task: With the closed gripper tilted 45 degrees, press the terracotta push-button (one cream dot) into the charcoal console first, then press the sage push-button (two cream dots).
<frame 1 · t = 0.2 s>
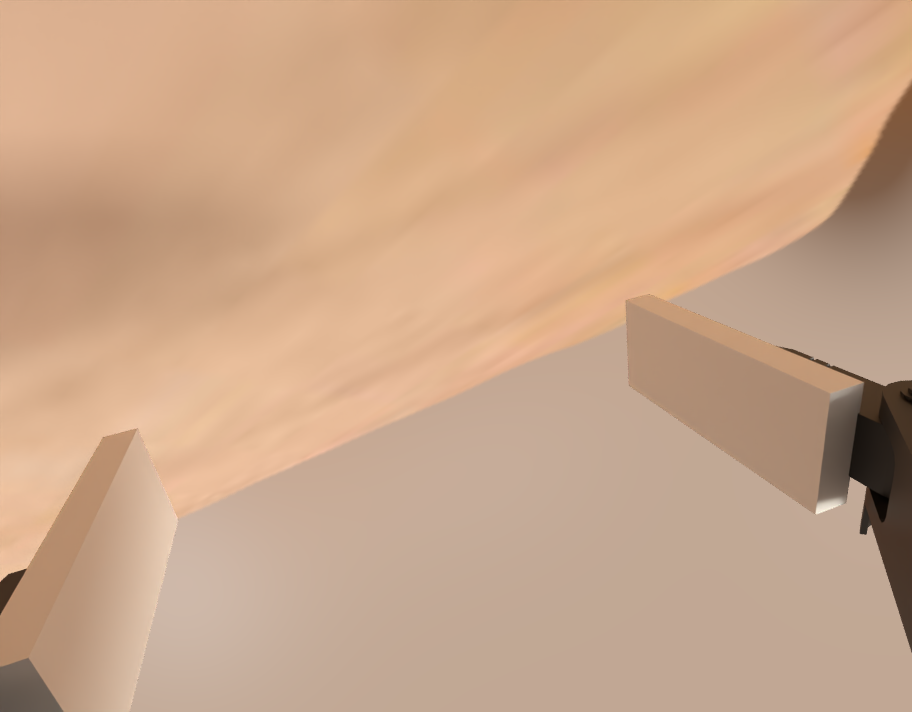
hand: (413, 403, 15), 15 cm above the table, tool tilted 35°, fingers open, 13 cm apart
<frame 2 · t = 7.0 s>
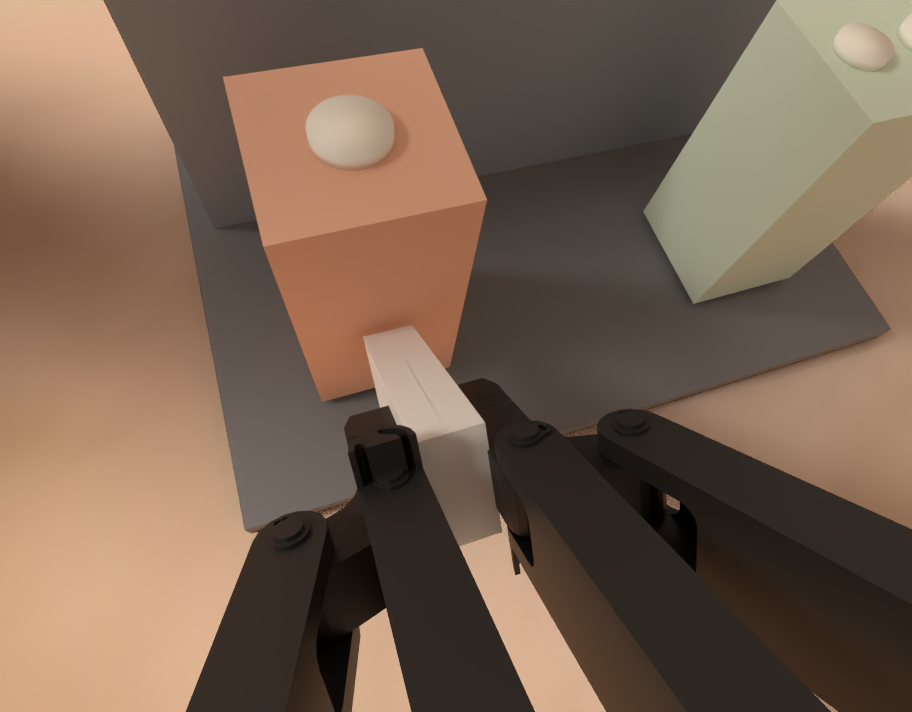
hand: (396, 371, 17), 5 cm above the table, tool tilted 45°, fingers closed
console: (474, 129, 28), on the table
button one: (362, 253, 18), point 6 cm above the table, slide at 0.1 cm, touching gripper
button two: (786, 163, 21), point 6 cm above the table, slide at 0.0 cm
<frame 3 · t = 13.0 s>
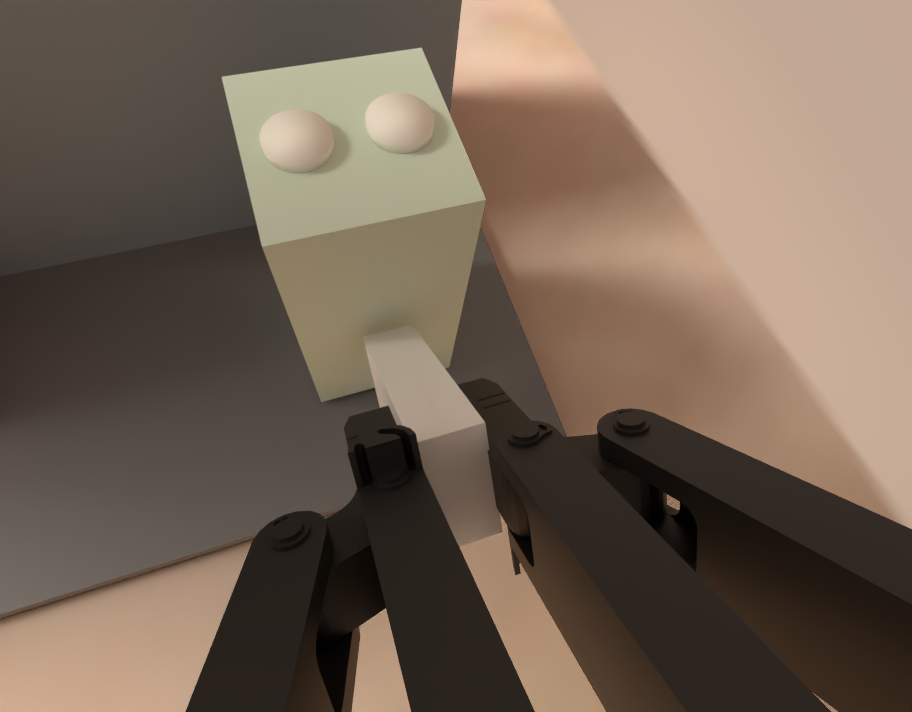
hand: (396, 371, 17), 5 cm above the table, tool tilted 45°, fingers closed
console: (137, 194, 25), on the table
button two: (362, 253, 18), point 6 cm above the table, slide at 0.4 cm, touching gripper
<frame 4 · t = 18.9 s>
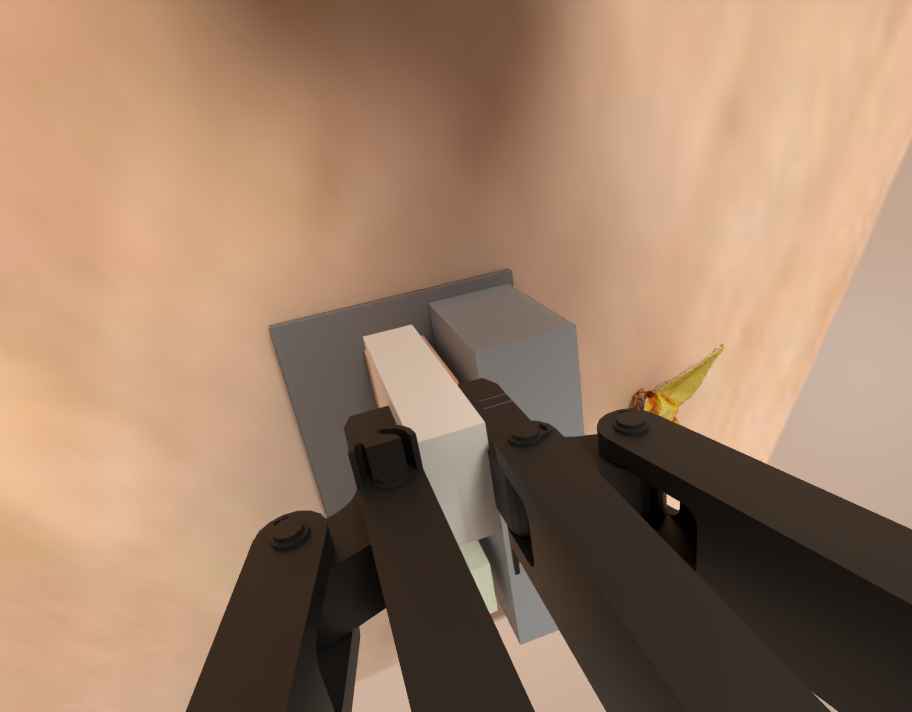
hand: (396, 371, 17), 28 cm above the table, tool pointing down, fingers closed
console: (486, 423, 53), on the table
button one: (413, 395, 42), point 6 cm above the table, slide at 3.0 cm
origami crane: (644, 402, 58), on the table
button two: (447, 557, 49), point 6 cm above the table, slide at 3.0 cm
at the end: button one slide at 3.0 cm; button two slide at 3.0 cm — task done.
